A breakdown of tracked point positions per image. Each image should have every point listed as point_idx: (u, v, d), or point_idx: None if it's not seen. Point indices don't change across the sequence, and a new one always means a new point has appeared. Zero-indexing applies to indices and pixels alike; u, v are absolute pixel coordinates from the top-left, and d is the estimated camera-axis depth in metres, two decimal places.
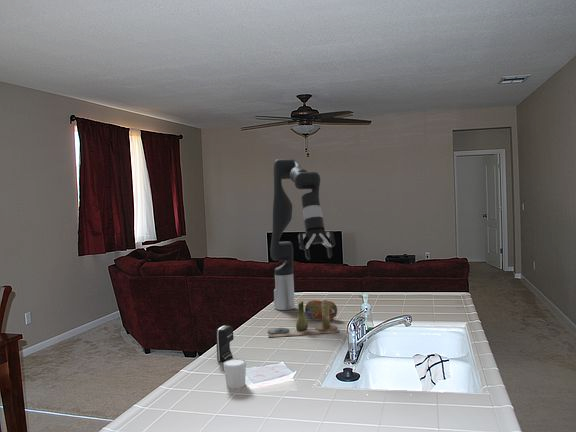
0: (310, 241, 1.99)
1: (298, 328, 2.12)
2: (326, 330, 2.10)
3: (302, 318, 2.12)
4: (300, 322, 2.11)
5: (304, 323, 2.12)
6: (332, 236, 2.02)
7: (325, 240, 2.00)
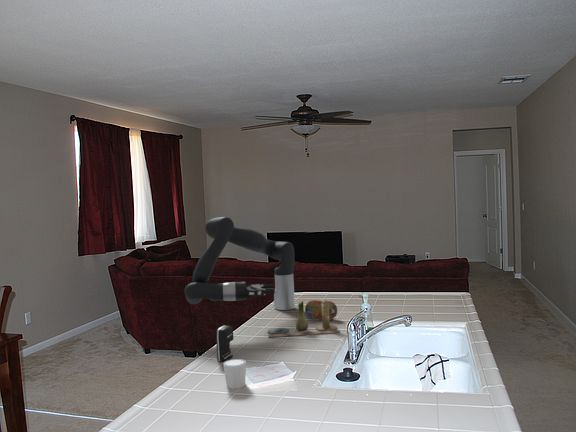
0: None
1: (298, 328, 2.12)
2: (326, 330, 2.10)
3: (302, 318, 2.12)
4: (300, 322, 2.11)
5: (304, 323, 2.12)
6: None
7: None
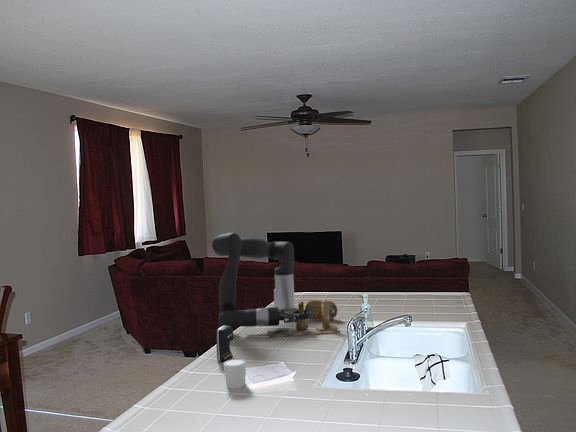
0: None
1: (298, 328, 2.12)
2: (326, 330, 2.10)
3: None
4: (300, 322, 2.11)
5: (304, 323, 2.12)
6: None
7: None
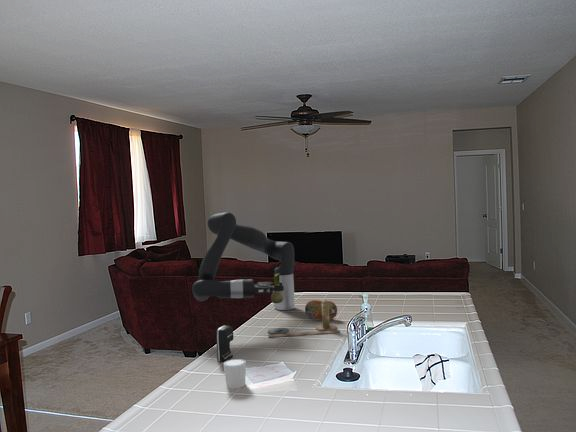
0: None
1: (273, 300, 2.10)
2: (326, 330, 2.10)
3: None
4: (275, 294, 2.09)
5: (279, 295, 2.10)
6: None
7: None
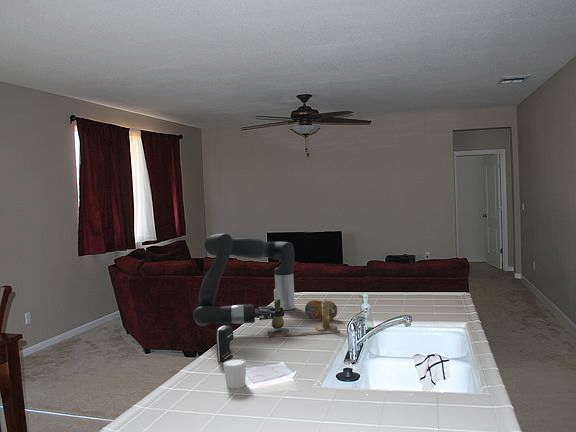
0: None
1: (274, 326, 2.11)
2: (326, 330, 2.10)
3: None
4: (276, 320, 2.10)
5: (280, 321, 2.11)
6: None
7: None
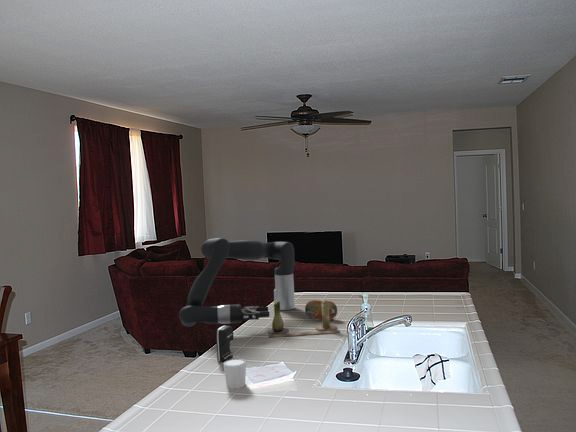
0: None
1: (274, 328, 2.11)
2: (326, 330, 2.10)
3: (278, 318, 2.11)
4: (275, 322, 2.10)
5: (280, 323, 2.11)
6: None
7: None
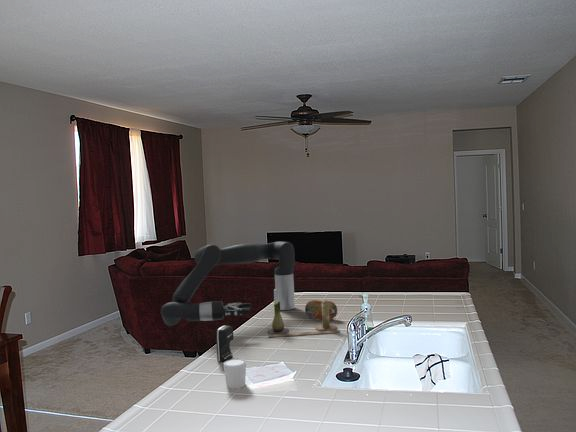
0: None
1: (274, 328, 2.11)
2: (326, 330, 2.10)
3: (278, 318, 2.11)
4: (276, 322, 2.10)
5: (280, 323, 2.11)
6: None
7: None
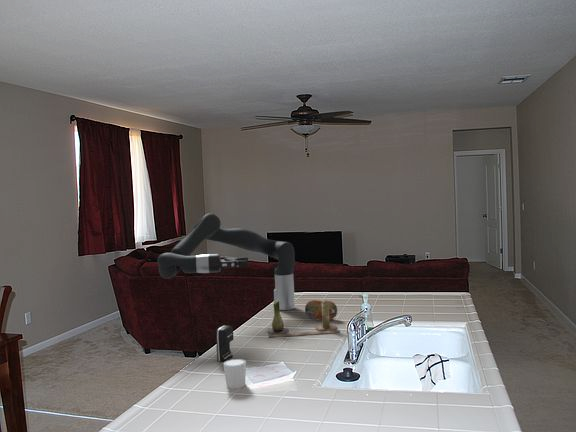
0: None
1: (274, 328, 2.11)
2: (326, 330, 2.10)
3: (278, 318, 2.11)
4: (276, 322, 2.10)
5: (280, 323, 2.11)
6: (228, 267, 2.04)
7: None
